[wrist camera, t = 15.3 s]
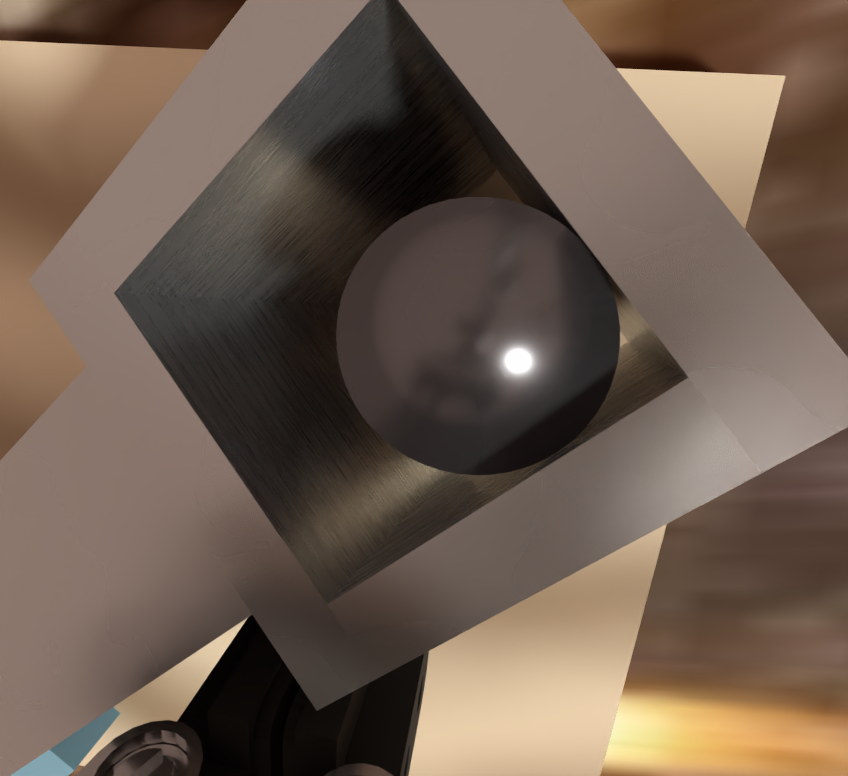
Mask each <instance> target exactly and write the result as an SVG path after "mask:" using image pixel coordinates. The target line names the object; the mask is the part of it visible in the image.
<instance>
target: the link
mask: <svg viewBox="0 0 848 776" xmlns="http://www.w3.org/2000/svg"><path fill="white" fill-rule="evenodd" d="M496 169H497V171H498V172H499V173H500V175H501V176H502V177H503V178H504V180H505V181H506V182H507V184H508V185H509V186H510V188H511V189H512V190H513V192H514V193H515V194H516V195H517V197H518V198H519V199H520V201H521V202H522V203H523V204H524V205H528V206H530V207H532V208H535V209H537V210H539V211H541V212H543V213H545V214H547V215H549V216H551V217H552V218H554V219H555V220H557V221H558V222H560V223H561V224H563V225H564V226H566V227H567V228H568V229H569V230H570V231H571V232H573V233H574V234H575V235H576V236H577V237H578V238H579V239H580V240H581V241H582V242H583V243H584V244H585V245H586V247H587V248H588V249H589V250H590V251H591V252H592V254H593V255H594V257H595V258H596V260H597V261H598V263H599V264H600V266H601V267H602V269H603V271H604V273H605V275H606V277H607V279H608V282H609V284H610V286H611V288H612V291H613V295H614V298H615V301H616V305H617V309H618V316H619V323H620V331H621V333H622V334H623V335H624V337H625V338H626V339H627V341H628V342H626V343H625V344H624V345H622V346H621V347H620V350H619V357H618V364H617V368H616V371H615V375H614V379H613V382H612V384H611V387H610V389H609V391H608V394H607V396H606V398H605V400H604V402H603V404H602V405H601V407H600V409H599V410H598V412H597V414H596V415H595V416H594V418H593V419H592V420H591V421H590V423H589V424H588V425H587V426H586V428H585V429H584V430H583V431H582V432H581V433H580V434H579V435H578V436H577V437H576V438H575V439H574V440H573V441H571V442H570V443H569V444H568V445H566V446H565V447H563V448H562V449H561V450H559V451H558V452H557V453H555V454H553V455H551V456H550V457H548V458H546V459H544V460H542V461H540V462H538V463H536V464H533V465H531V466H528V467H526V468H522V469H519V470H515V471H511V472H507V473H501V474H494V475H465V474H456V473H451V472H446V471H441V470H438V469H435V468H432V467H429V466H426V465H424V464H422V463H419V462H417V461H415V460H413V459H411V458H409V457H407V456H406V455H404V454H403V453H401V452H399V451H398V450H396V449H395V448H393V447H392V446H391V445H390V444H388V443H387V442H386V441H385V440H384V439H382V438H381V437H380V436H379V435H378V434H377V433H376V432H375V431H374V430H373V429H372V428H371V427H370V425H369V424H368V423H367V421H366V420H365V419H364V418H363V416H362V415H361V414H360V412H359V411H358V409H357V407H356V405H355V404H354V402H353V400H352V399H351V397H350V394H349V392H348V390H347V387H346V385H345V383H344V380H343V376H342V373H341V369H340V366H339V360H338V354H337V342H336V328H337V317H338V311H339V306H340V302H341V298H342V294H343V292H344V289H345V286H346V284H347V281H348V279H349V277H350V275H351V273H352V271H353V269H354V267H355V266H356V264H357V262H358V261H359V259H360V258H361V257H362V255H363V254H364V252H365V251H366V250H367V248H368V247H369V246H370V245H371V244H372V243H373V242H374V241H375V240H376V239H377V238H378V237H379V235H380V234H382V233H383V232H384V231H385V230H387V229H388V228H389V227H390V226H392V225H393V224H394V223H395V222H397V221H399V220H400V219H402V218H404V217H405V216H407V215H408V214H410V213H412V212H414V211H416V210H419V209H421V208H423V207H426V206H428V205H431V204H434V203H438V202H442V201H445V200H449V199H456V198H464V197H466V196H467V195H468V194H469V193H470V192H471V191H472V190H473V189H475V188H476V187H477V186H478V185H479V184H480V183H481V182H482V181H484V180H485V179H486V178H487V177H488V176H489V175H490V174H491V173H493V172H494V171H495V170H496ZM29 282H30V283H31V285H32V286H33V288H34V289H35V291H36V292H37V294H38V295H39V297H40V298H41V300H42V301H43V303H44V304H45V306H46V307H47V309H48V310H49V312H50V313H51V315H52V316H53V318H54V319H55V321H56V322H57V324H58V325H59V327H60V328H61V330H62V331H63V333H64V334H65V336H66V337H67V339H68V340H69V342H70V343H71V344H72V346H73V347H74V349H75V350H76V352H77V353H78V355H79V356H80V358H81V359H82V361H83V362H84V364H85V365H86V367H85V368H84V369H83V371H82V372H81V373H80V374H79V375H78V376H77V377H76V378H75V379H74V380H73V381H72V383H71V384H70V385H69V386H68V387H67V388H66V389H65V390H64V391H63V392H62V394H61V395H60V396H59V397H58V398H57V399H56V400H55V401H54V402H53V403H52V404H51V406H50V407H49V408H48V409H47V410H46V411H45V412H44V413H43V414H42V415H41V416H40V418H39V419H38V420H37V421H36V422H35V423H34V424H33V425H32V426H31V427H30V428H29V430H28V431H27V432H26V433H25V434H24V435H23V436H22V437H21V438H20V439H19V441H18V442H17V443H16V444H15V445H14V446H13V447H12V448H11V449H10V450H9V451H8V453H7V454H6V455H5V456H4V457H3V458H2V459H1V460H0V776H10V775H12V774H13V773H15V772H16V771H18V770H19V769H21V768H22V767H24V766H25V765H27V764H28V763H30V762H31V761H33V760H34V759H36V758H37V757H39V756H40V755H42V754H43V753H45V752H46V751H48V750H49V749H51V748H52V747H54V746H55V745H57V744H58V743H60V742H61V741H63V740H64V739H66V738H67V737H69V736H71V735H72V734H74V733H75V732H77V731H78V730H80V729H81V728H83V727H84V726H86V725H87V724H89V723H90V722H92V721H93V720H95V719H96V718H98V717H99V716H101V715H102V714H104V713H105V712H107V711H108V710H110V709H111V708H113V707H114V706H116V705H117V704H119V703H120V702H122V701H123V700H125V699H126V698H128V697H129V696H131V695H132V694H134V693H135V692H137V691H138V690H140V689H141V688H143V687H144V686H146V685H147V684H149V683H150V682H152V681H153V680H155V679H156V678H158V677H159V676H161V675H162V674H164V673H165V672H167V671H168V670H170V669H171V668H173V667H174V666H176V665H177V664H179V663H180V662H182V661H183V660H185V659H186V658H188V657H189V656H191V655H192V654H194V653H195V652H197V651H198V650H200V649H201V648H203V647H204V646H206V645H207V644H209V643H210V642H212V641H213V640H215V639H216V638H218V637H219V636H221V635H222V634H224V633H225V632H227V631H228V630H230V629H231V628H233V627H234V626H236V625H237V624H239V623H240V622H242V621H243V620H245V619H246V618H248V617H249V616H251V615H253V616H254V618H255V619H256V621H257V622H258V624H259V625H260V627H261V628H262V630H263V631H264V633H265V634H266V636H267V637H268V639H269V640H270V642H271V643H272V645H273V646H274V648H275V649H276V651H277V652H278V654H279V655H280V657H281V658H282V660H283V661H284V663H285V664H286V666H287V667H288V669H289V670H290V672H291V673H292V675H293V676H294V678H295V679H296V681H297V682H298V684H299V685H300V686H301V688H302V689H303V691H304V692H305V694H306V695H307V697H308V698H309V700H310V701H311V703H312V704H313V706H314V707H315V709H316V710H319V709H321V708H323V707H325V706H327V705H329V704H331V703H332V702H334V701H336V700H338V699H340V698H342V697H344V696H346V695H347V694H349V693H351V692H353V691H355V690H357V689H359V688H360V687H362V686H364V685H366V684H368V683H370V682H372V681H374V680H375V679H377V678H379V677H381V676H383V675H385V674H387V673H389V672H390V671H392V670H394V669H396V668H398V667H400V666H402V665H404V664H405V663H407V662H409V661H411V660H413V659H415V658H417V657H418V656H420V655H422V654H424V653H426V652H428V651H430V650H432V649H433V648H435V647H437V646H439V645H441V644H443V643H445V642H447V641H448V640H450V639H452V638H454V637H456V636H458V635H460V634H461V633H463V632H465V631H467V630H469V629H471V628H473V627H475V626H476V625H478V624H480V623H482V622H484V621H486V620H488V619H490V618H491V617H493V616H495V615H497V614H499V613H501V612H503V611H505V610H506V609H508V608H510V607H512V606H514V605H516V604H518V603H519V602H521V601H523V600H525V599H527V598H529V597H531V596H533V595H534V594H536V593H538V592H540V591H542V590H544V589H546V588H548V587H549V586H551V585H553V584H555V583H557V582H559V581H561V580H562V579H564V578H566V577H568V576H570V575H572V574H574V573H576V572H577V571H579V570H581V569H583V568H585V567H587V566H589V565H591V564H592V563H594V562H596V561H598V560H600V559H602V558H604V557H605V556H607V555H609V554H611V553H613V552H615V551H617V550H619V549H620V548H622V547H624V546H626V545H628V544H630V543H632V542H634V541H635V540H637V539H639V538H641V537H643V536H645V535H647V534H649V533H650V532H652V531H654V530H656V529H658V528H660V527H662V526H663V525H665V524H667V523H669V522H671V521H673V520H675V519H677V518H678V517H680V516H682V515H684V514H686V513H688V512H690V511H692V510H693V509H695V508H697V507H699V506H701V505H703V504H705V503H706V502H708V501H710V500H712V499H714V498H716V497H718V496H720V495H721V494H723V493H725V492H727V491H729V490H731V489H733V488H735V487H736V486H738V485H740V484H742V483H744V482H746V481H748V480H749V479H751V478H753V477H755V476H757V475H759V474H761V473H763V472H764V471H766V470H768V469H770V468H772V467H774V466H776V465H778V464H779V463H781V462H783V461H785V460H787V459H789V458H791V457H793V456H794V455H796V454H798V453H800V452H802V451H804V450H806V449H807V448H809V447H811V446H813V445H815V444H817V443H819V442H821V441H822V440H824V439H826V438H828V437H830V436H832V435H834V434H836V433H837V432H839V431H841V430H843V429H845V428H847V427H848V358H847V356H846V355H845V354H844V353H843V351H842V350H841V349H840V348H839V346H838V345H837V344H836V343H835V341H834V340H833V339H832V338H831V336H830V335H829V334H828V333H827V331H826V330H825V329H824V328H823V326H822V325H821V324H820V323H819V321H818V320H817V319H816V318H815V316H814V315H813V314H812V313H811V311H810V310H809V309H808V308H807V306H806V305H805V304H804V303H803V301H802V300H801V299H800V298H799V296H798V295H797V294H796V293H795V291H794V290H793V289H792V288H791V286H790V285H789V284H788V283H787V281H786V280H785V279H784V278H783V276H782V275H781V274H780V273H779V271H778V270H777V269H776V268H775V266H774V265H773V264H772V263H771V261H770V260H769V259H768V258H767V256H766V255H765V254H764V253H763V251H762V250H761V249H760V248H759V246H758V245H757V244H756V243H755V241H754V240H753V239H752V238H751V236H750V235H749V234H748V233H747V231H746V230H745V229H744V228H743V226H742V225H741V224H740V223H739V221H738V220H737V219H736V218H735V216H734V215H733V214H732V213H731V211H730V210H729V209H728V208H727V206H726V205H725V204H724V203H723V201H722V200H721V199H720V198H719V196H718V195H717V194H716V193H715V191H714V190H713V189H712V188H711V186H710V185H709V184H708V183H707V181H706V180H705V179H704V178H703V176H702V175H701V174H700V173H699V171H698V170H697V169H696V168H695V166H694V165H693V164H692V163H691V161H690V160H689V159H688V158H687V156H686V155H685V154H684V153H683V151H682V150H681V149H680V148H679V146H678V145H677V144H676V143H675V141H674V140H673V139H672V138H671V136H670V135H669V134H668V133H667V131H666V130H665V129H664V128H663V126H662V125H661V124H660V123H659V121H658V120H657V119H656V118H655V116H654V115H653V114H652V113H651V111H650V110H649V109H648V108H647V106H646V105H645V104H644V103H643V101H642V100H641V99H640V98H639V96H638V95H637V94H636V93H635V91H634V90H633V89H632V88H631V86H630V85H629V84H628V83H627V81H626V80H625V79H624V78H623V76H622V75H621V74H620V73H619V71H618V70H617V69H616V68H615V66H614V65H613V64H612V63H611V61H610V60H609V59H608V58H607V56H606V55H605V54H604V53H603V51H602V50H601V49H600V48H599V46H598V45H597V44H596V43H595V41H594V40H593V39H592V38H591V36H590V35H589V34H588V33H587V31H586V30H585V29H584V28H583V26H582V25H581V24H580V23H579V21H578V20H577V19H576V18H575V16H574V15H573V14H572V13H571V11H570V10H569V9H568V8H567V6H566V5H565V4H564V3H563V1H562V0H247V1H246V2H245V3H244V4H243V6H242V7H241V8H240V10H239V11H238V12H237V13H236V15H235V16H234V17H233V19H232V20H231V21H230V22H229V24H228V25H227V26H226V28H225V29H224V30H223V31H222V33H221V34H220V35H219V37H218V38H217V39H216V40H215V42H214V43H213V44H212V46H211V47H210V48H209V49H208V51H207V52H206V53H205V55H204V56H203V57H202V58H201V60H200V61H199V62H198V64H197V65H196V66H195V67H194V69H193V70H192V71H191V73H190V74H189V75H188V76H187V78H186V79H185V80H184V82H183V83H182V84H181V85H180V87H179V88H178V89H177V91H176V92H175V93H174V94H173V96H172V97H171V98H170V100H169V101H168V102H167V103H166V105H165V106H164V107H163V109H162V110H161V111H160V112H159V114H158V115H157V116H156V118H155V119H154V120H153V121H152V123H151V124H150V125H149V127H148V128H147V129H146V130H145V132H144V133H143V134H142V136H141V137H140V138H139V139H138V141H137V142H136V143H135V144H134V146H133V147H132V148H131V150H130V151H129V152H128V153H127V155H126V156H125V157H124V159H123V160H122V161H121V162H120V164H119V165H118V166H117V168H116V169H115V170H114V171H113V173H112V174H111V175H110V177H109V178H108V179H107V180H106V182H105V183H104V184H103V186H102V187H101V188H100V189H99V191H98V192H97V193H96V195H95V196H94V197H93V198H92V200H91V201H90V202H89V204H88V205H87V206H86V207H85V209H84V210H83V211H82V213H81V214H80V215H79V216H78V218H77V219H76V220H75V222H74V223H73V224H72V225H71V227H70V228H69V229H68V231H67V232H66V233H65V234H64V236H63V237H62V238H61V240H60V241H59V242H58V243H57V245H56V246H55V247H54V249H53V250H52V251H51V252H50V254H49V255H48V256H47V258H46V259H45V260H44V261H43V263H42V264H41V265H40V267H39V268H38V269H37V270H36V272H35V273H34V274H33V275H32V277H31V278H30V279H29Z"/></svg>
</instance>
